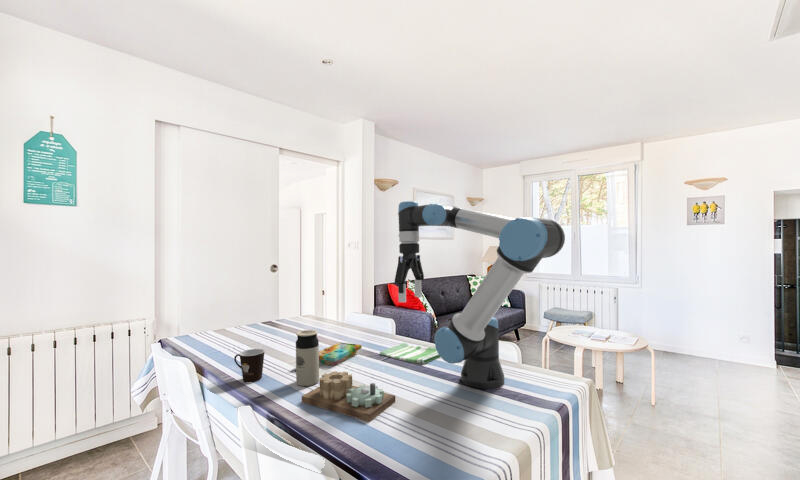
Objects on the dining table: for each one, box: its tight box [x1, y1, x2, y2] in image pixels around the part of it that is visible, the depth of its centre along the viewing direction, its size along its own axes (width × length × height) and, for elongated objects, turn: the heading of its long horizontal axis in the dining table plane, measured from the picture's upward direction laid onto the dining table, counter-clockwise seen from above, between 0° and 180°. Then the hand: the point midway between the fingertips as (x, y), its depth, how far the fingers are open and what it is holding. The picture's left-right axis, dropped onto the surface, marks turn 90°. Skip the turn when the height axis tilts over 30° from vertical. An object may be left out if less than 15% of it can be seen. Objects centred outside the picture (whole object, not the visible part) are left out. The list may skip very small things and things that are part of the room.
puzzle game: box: [319, 341, 363, 367], centre depth 156 cm, size 12×5×20 cm
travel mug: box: [295, 329, 320, 387], centre depth 129 cm, size 8×8×18 cm
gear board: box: [301, 379, 396, 423], centre depth 112 cm, size 26×14×6 cm, turn 60°
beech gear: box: [319, 370, 353, 400], centre depth 115 cm, size 10×10×5 cm
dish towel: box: [379, 342, 441, 365], centre depth 158 cm, size 18×23×3 cm
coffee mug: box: [233, 348, 265, 383], centre depth 134 cm, size 12×9×10 cm
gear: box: [346, 382, 385, 407], centre depth 109 cm, size 11×11×5 cm
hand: (410, 299), depth 135 cm, fingers open, 13 cm apart
